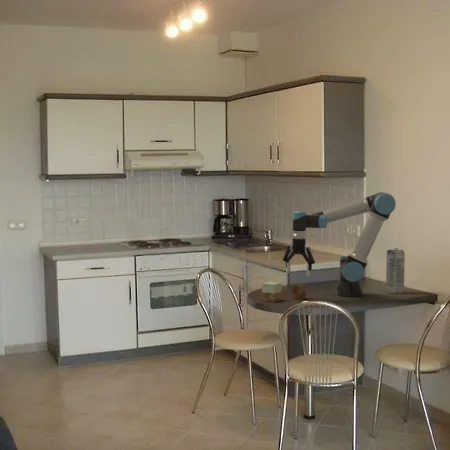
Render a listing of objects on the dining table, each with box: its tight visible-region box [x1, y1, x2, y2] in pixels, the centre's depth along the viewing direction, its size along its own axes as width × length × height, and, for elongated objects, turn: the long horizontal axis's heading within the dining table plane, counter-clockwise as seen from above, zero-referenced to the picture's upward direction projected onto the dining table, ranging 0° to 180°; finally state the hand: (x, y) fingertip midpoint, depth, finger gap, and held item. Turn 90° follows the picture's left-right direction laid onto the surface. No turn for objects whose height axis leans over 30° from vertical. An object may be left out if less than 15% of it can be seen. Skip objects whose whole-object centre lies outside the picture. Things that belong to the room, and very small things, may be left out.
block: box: [291, 283, 307, 301], centre depth 412 cm, size 6×6×8 cm
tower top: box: [261, 281, 282, 294], centre depth 407 cm, size 8×8×5 cm
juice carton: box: [385, 247, 406, 295], centre depth 429 cm, size 9×10×27 cm
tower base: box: [261, 291, 282, 303], centre depth 408 cm, size 8×8×5 cm
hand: (298, 274), depth 411 cm, fingers open, 13 cm apart
